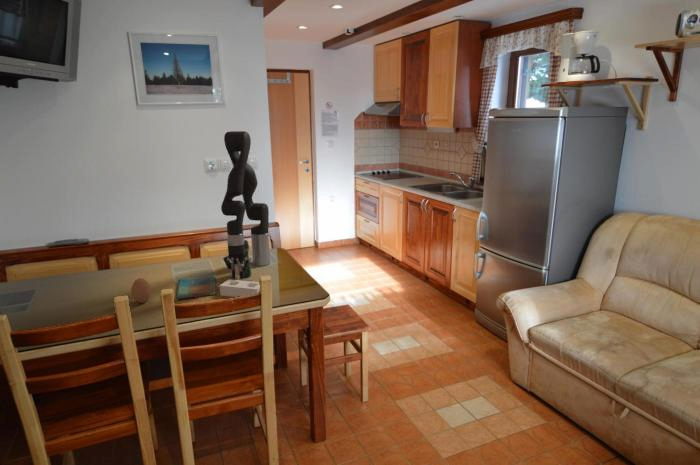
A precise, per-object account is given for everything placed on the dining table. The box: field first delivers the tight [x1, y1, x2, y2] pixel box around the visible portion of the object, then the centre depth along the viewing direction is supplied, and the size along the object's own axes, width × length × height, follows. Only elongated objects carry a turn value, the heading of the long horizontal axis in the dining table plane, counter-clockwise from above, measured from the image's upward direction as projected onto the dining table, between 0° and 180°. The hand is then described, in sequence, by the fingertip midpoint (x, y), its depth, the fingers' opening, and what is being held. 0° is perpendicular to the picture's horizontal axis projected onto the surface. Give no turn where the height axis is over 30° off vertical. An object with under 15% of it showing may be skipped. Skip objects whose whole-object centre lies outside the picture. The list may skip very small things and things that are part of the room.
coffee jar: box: [230, 239, 252, 279], centre depth 214 cm, size 10×8×19 cm
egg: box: [131, 277, 152, 304], centre depth 185 cm, size 8×8×11 cm
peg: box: [234, 264, 243, 281], centre depth 205 cm, size 3×3×10 cm
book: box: [176, 275, 217, 302], centre depth 201 cm, size 17×23×2 cm
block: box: [219, 278, 260, 298], centre depth 193 cm, size 8×18×5 cm, turn 76°
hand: (238, 277), depth 205 cm, fingers closed on peg, 3 cm apart
